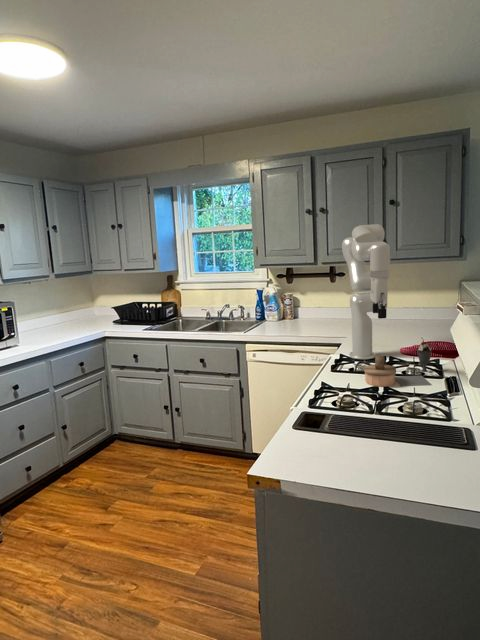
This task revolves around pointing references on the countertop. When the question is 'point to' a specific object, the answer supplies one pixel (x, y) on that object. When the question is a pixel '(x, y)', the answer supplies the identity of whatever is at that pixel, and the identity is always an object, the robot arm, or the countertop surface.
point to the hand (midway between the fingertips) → (379, 315)
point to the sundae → (424, 355)
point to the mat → (411, 381)
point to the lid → (379, 368)
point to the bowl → (380, 380)
